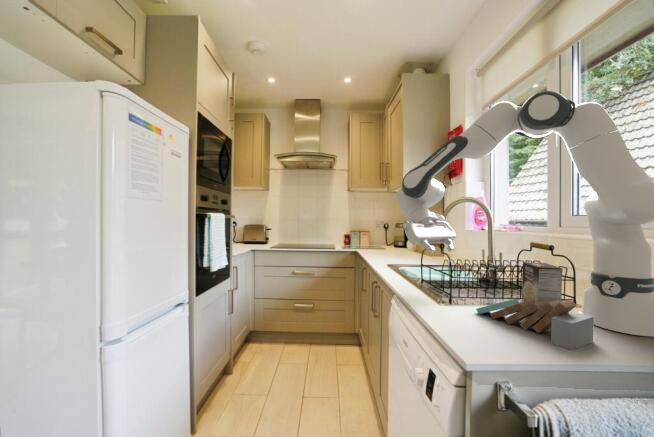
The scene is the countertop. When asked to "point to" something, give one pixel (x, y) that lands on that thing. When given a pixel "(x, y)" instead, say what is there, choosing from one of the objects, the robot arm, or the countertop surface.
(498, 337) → the countertop surface
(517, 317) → the domino
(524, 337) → the countertop surface
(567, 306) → the domino
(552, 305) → the domino
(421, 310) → the countertop surface
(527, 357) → the countertop surface
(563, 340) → the end block
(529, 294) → the coffee box
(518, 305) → the domino
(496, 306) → the domino
